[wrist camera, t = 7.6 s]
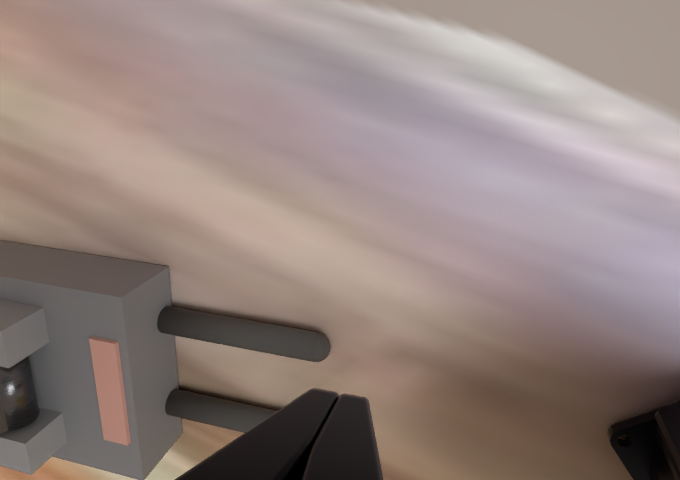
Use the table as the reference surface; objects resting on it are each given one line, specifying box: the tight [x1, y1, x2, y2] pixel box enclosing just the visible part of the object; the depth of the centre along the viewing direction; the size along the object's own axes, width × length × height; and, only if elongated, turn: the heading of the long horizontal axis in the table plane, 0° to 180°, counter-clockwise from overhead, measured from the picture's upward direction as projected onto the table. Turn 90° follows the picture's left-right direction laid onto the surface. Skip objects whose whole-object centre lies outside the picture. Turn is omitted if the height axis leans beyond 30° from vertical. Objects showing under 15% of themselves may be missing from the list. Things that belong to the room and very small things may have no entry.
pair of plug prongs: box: [157, 306, 330, 433], centre depth 23 cm, size 8×6×1 cm
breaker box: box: [0, 240, 183, 480], centre depth 23 cm, size 10×9×5 cm
